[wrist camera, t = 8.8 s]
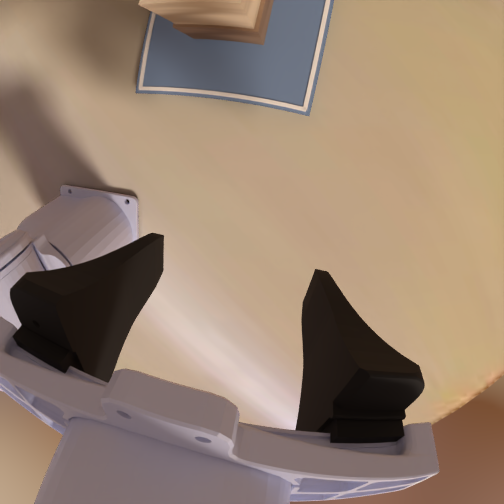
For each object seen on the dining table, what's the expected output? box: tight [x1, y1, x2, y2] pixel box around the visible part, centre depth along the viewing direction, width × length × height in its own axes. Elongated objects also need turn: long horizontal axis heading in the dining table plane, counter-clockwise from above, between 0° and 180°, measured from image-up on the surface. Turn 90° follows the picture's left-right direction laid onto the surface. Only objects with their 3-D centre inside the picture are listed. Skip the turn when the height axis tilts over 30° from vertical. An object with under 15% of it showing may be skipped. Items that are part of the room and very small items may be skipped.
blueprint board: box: [136, 0, 334, 116], centre depth 12 cm, size 13×14×5 cm
